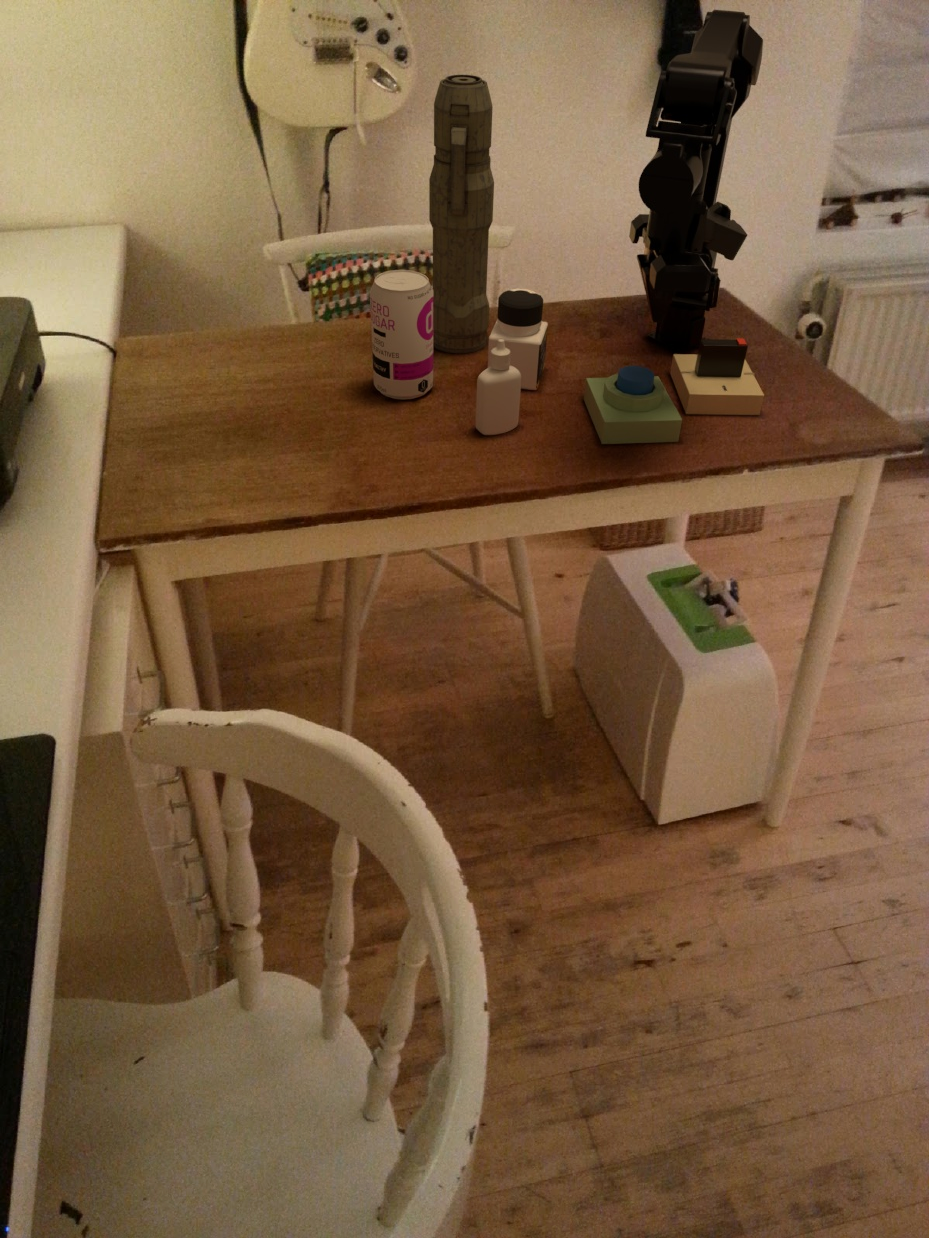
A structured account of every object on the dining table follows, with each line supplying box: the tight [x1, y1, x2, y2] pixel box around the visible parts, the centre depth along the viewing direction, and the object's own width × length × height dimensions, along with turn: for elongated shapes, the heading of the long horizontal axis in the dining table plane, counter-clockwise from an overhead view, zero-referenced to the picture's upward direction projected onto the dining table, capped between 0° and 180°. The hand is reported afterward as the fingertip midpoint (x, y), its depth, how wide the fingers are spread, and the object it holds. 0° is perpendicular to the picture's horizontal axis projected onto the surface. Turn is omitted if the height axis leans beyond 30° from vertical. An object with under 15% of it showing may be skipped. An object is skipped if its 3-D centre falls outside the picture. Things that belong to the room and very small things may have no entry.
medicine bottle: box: [487, 288, 549, 391], centre depth 131 cm, size 7×7×12 cm
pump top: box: [616, 365, 655, 395], centre depth 122 cm, size 5×5×2 cm
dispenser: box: [583, 373, 683, 445], centre depth 124 cm, size 12×10×5 cm
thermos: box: [428, 74, 495, 354], centre depth 132 cm, size 9×12×35 cm
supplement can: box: [369, 269, 434, 400], centre depth 126 cm, size 8×8×15 cm
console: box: [669, 353, 765, 416], centre depth 131 cm, size 12×10×3 cm
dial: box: [695, 337, 749, 377], centre depth 129 cm, size 6×2×5 cm, turn 90°
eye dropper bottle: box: [474, 339, 522, 436], centre depth 120 cm, size 4×6×12 cm
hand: (656, 321), depth 118 cm, fingers closed
